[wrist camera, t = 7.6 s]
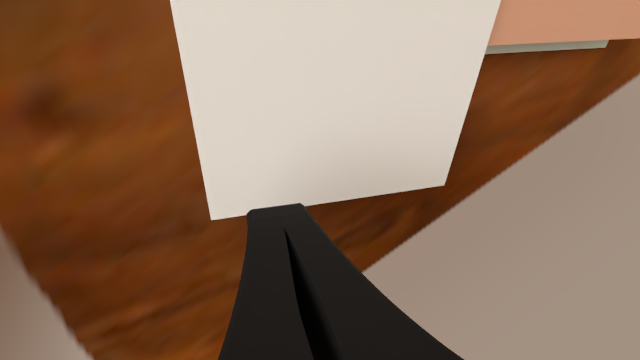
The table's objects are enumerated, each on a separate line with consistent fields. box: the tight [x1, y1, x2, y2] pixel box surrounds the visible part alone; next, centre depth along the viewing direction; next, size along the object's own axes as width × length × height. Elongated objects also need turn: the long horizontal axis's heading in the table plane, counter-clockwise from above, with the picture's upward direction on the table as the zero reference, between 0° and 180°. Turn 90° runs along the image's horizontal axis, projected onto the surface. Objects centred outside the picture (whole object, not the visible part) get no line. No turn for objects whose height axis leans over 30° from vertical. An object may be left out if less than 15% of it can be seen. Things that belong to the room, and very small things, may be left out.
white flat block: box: [170, 0, 501, 220], centre depth 15 cm, size 14×12×3 cm
